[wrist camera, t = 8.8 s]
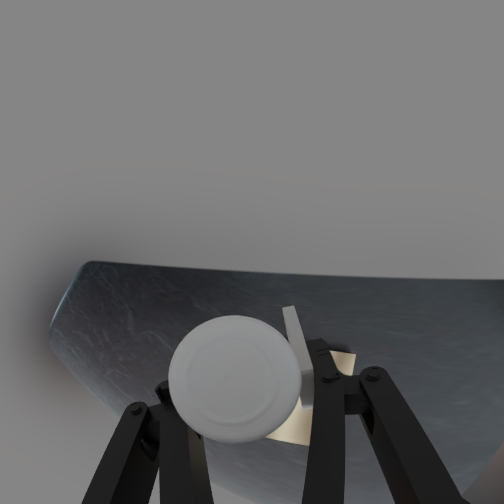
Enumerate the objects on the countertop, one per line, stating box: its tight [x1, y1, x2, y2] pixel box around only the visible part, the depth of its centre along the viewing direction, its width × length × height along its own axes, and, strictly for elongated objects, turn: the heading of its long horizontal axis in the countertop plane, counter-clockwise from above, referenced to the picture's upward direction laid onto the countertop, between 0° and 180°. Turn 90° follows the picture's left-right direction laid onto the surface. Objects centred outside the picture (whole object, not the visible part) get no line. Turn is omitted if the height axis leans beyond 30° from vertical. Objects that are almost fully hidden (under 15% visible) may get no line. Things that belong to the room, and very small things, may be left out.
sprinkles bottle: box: [169, 315, 301, 444], centre depth 14 cm, size 5×5×13 cm
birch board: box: [265, 351, 356, 446], centre depth 31 cm, size 17×12×2 cm
